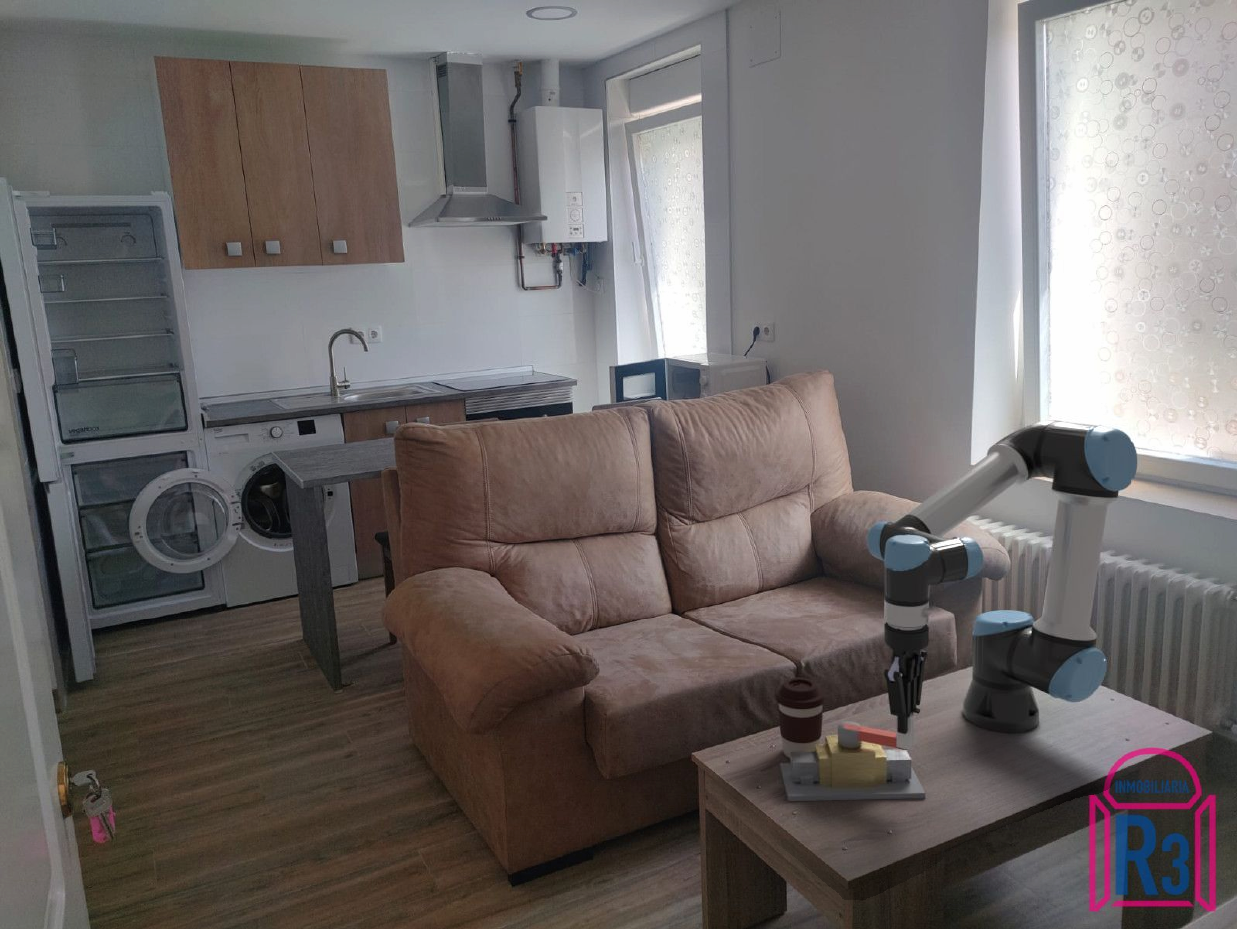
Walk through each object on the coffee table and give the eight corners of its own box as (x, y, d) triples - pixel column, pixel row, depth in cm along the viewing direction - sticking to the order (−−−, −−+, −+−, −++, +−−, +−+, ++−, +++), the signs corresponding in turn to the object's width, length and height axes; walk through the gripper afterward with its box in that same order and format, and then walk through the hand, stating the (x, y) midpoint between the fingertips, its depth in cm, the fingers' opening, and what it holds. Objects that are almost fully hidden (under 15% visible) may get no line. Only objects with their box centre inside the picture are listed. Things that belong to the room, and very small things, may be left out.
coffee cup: (826, 766, 183) (825, 696, 180) (775, 764, 185) (774, 694, 182) (825, 742, 192) (824, 674, 189) (777, 740, 194) (775, 673, 191)
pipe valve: (903, 766, 179) (903, 733, 178) (913, 786, 172) (913, 751, 171) (789, 769, 180) (788, 736, 179) (794, 788, 174) (793, 754, 172)
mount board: (908, 764, 182) (908, 760, 182) (925, 798, 170) (925, 793, 170) (780, 768, 183) (780, 763, 183) (788, 801, 171) (788, 796, 171)
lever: (835, 745, 174) (834, 717, 173) (841, 735, 178) (841, 707, 177) (908, 759, 168) (908, 730, 167) (913, 748, 171) (913, 720, 170)
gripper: (911, 638, 156) (909, 767, 160) (941, 616, 166) (939, 739, 170) (869, 629, 161) (869, 755, 165) (902, 609, 170) (901, 728, 175)
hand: (905, 747), depth 167 cm, fingers closed
